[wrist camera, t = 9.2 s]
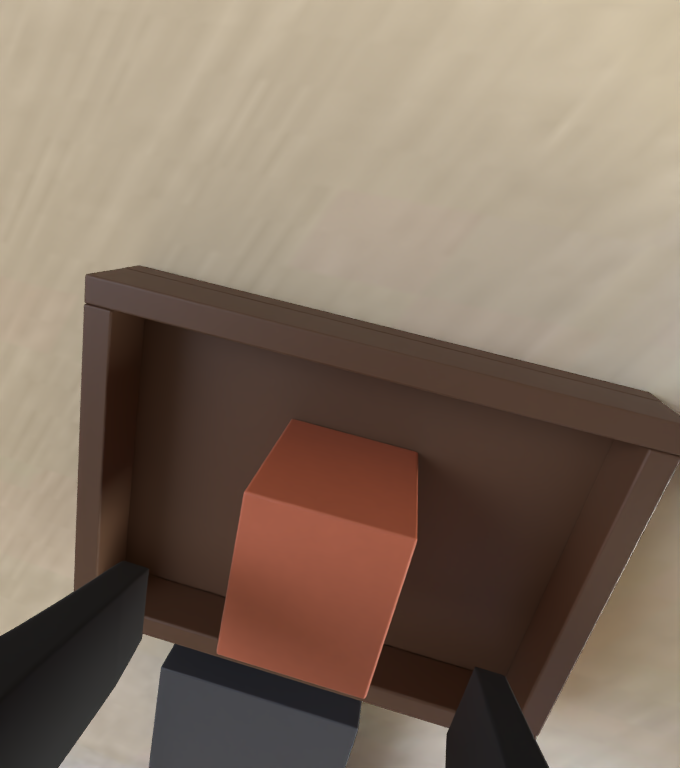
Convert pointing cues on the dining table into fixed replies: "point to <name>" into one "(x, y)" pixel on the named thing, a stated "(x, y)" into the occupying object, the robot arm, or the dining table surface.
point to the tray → (382, 424)
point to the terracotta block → (321, 557)
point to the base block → (246, 718)
